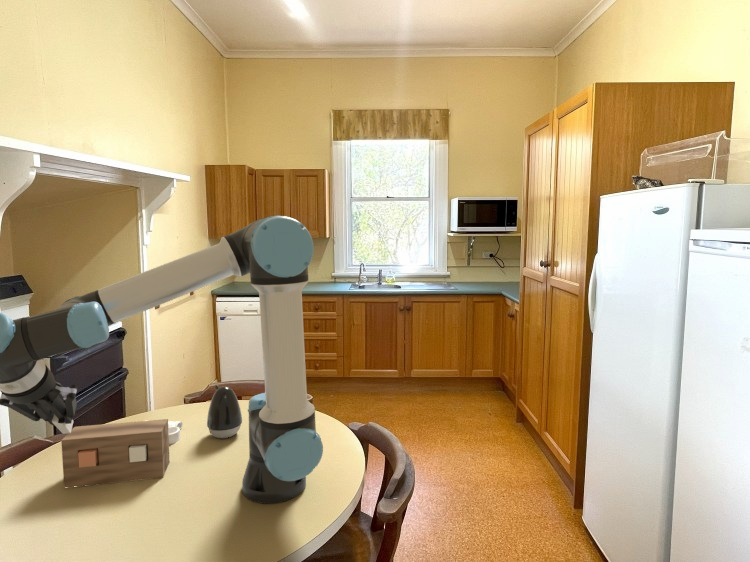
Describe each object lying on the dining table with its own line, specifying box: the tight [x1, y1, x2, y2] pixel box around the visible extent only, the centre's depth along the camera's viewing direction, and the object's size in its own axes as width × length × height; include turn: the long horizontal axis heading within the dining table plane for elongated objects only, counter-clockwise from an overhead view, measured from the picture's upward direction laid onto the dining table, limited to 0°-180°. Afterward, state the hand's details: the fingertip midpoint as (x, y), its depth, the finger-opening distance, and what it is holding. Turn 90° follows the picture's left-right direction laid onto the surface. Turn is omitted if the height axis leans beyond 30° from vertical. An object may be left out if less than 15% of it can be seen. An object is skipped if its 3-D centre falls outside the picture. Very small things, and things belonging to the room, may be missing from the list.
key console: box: [61, 418, 171, 489], centre depth 115 cm, size 8×22×12 cm, turn 104°
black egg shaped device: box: [206, 384, 243, 439], centre depth 138 cm, size 10×10×15 cm
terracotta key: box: [78, 448, 99, 468], centre depth 111 cm, size 5×4×4 cm
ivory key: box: [129, 444, 148, 462], centre depth 114 cm, size 5×4×4 cm
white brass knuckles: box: [144, 419, 184, 445], centre depth 137 cm, size 3×18×15 cm
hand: (68, 427), depth 99 cm, fingers closed
